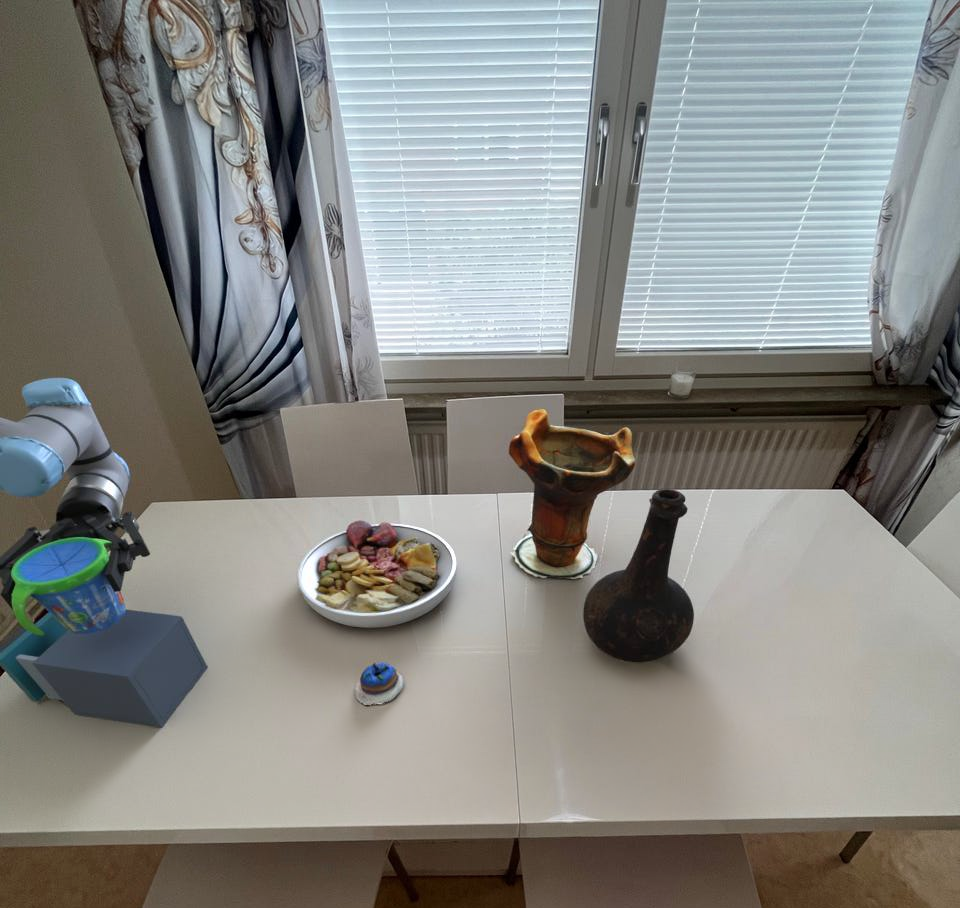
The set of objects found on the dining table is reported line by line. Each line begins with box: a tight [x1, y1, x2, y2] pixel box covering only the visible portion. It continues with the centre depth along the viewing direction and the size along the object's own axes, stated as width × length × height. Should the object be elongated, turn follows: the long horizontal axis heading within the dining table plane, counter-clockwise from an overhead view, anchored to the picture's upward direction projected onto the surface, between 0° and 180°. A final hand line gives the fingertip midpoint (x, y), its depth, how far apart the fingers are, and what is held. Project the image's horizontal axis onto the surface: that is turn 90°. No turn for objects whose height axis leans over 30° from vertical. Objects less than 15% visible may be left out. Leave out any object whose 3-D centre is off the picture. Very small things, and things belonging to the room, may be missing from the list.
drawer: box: [0, 611, 68, 703], centre depth 83 cm, size 20×12×9 cm, turn 80°
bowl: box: [296, 520, 457, 629], centre depth 102 cm, size 30×30×8 cm
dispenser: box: [32, 608, 209, 729], centre depth 81 cm, size 15×13×11 cm
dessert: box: [354, 662, 404, 706], centre depth 85 cm, size 8×7×6 cm
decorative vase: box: [508, 408, 636, 580], centre depth 103 cm, size 21×23×28 cm
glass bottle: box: [582, 488, 695, 664], centre depth 84 cm, size 18×18×28 cm
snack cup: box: [11, 537, 126, 635], centre depth 71 cm, size 16×10×10 cm
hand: (62, 592), depth 67 cm, fingers closed on snack cup, 11 cm apart
